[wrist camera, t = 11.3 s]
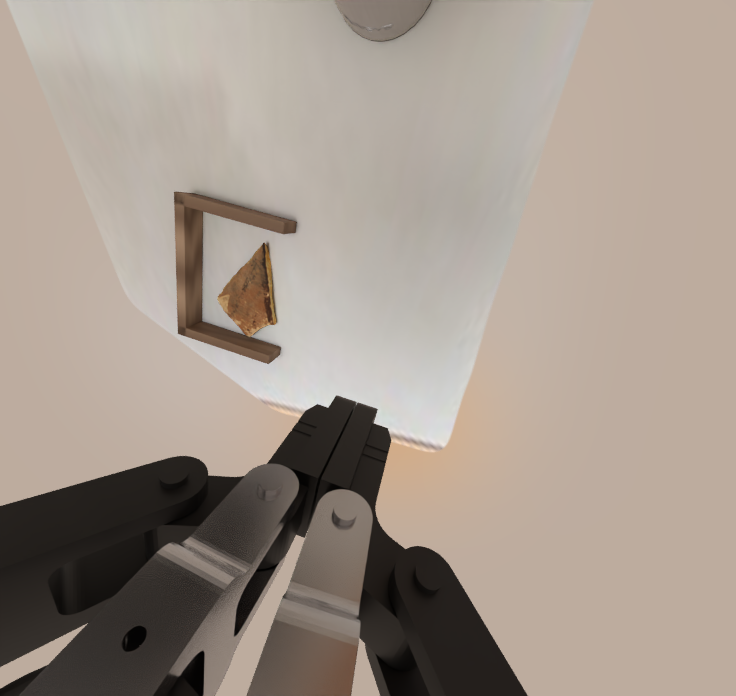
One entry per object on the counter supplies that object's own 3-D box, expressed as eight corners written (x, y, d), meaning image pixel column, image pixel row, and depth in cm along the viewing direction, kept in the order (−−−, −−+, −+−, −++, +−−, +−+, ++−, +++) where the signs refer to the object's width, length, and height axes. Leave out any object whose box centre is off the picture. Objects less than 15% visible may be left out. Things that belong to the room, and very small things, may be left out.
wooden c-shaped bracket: (193, 193, 37) (174, 191, 35) (296, 221, 36) (284, 222, 33) (194, 326, 45) (178, 333, 42) (279, 354, 43) (268, 364, 41)
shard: (270, 241, 38) (262, 242, 36) (312, 291, 39) (306, 294, 38) (220, 295, 42) (211, 299, 41) (259, 339, 44) (252, 343, 42)
